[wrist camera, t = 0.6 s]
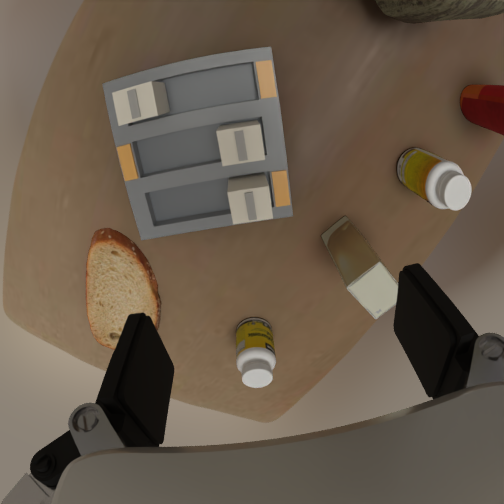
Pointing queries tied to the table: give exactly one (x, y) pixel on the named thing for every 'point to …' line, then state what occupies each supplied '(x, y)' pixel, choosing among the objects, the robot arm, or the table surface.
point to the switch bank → (199, 141)
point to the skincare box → (361, 268)
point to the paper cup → (484, 106)
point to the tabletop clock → (439, 9)
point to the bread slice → (118, 286)
